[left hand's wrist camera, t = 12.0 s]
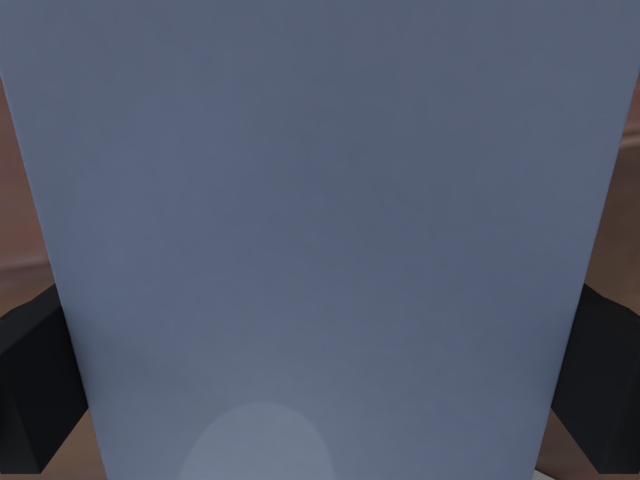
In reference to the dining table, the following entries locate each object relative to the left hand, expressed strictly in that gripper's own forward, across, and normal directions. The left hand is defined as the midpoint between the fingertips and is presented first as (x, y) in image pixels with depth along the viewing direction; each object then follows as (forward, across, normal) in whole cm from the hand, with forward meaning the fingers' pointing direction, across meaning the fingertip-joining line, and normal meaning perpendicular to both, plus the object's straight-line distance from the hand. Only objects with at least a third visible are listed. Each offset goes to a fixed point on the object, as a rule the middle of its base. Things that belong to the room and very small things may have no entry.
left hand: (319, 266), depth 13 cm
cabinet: (+4, 0, -6) cm, 7 cm away
